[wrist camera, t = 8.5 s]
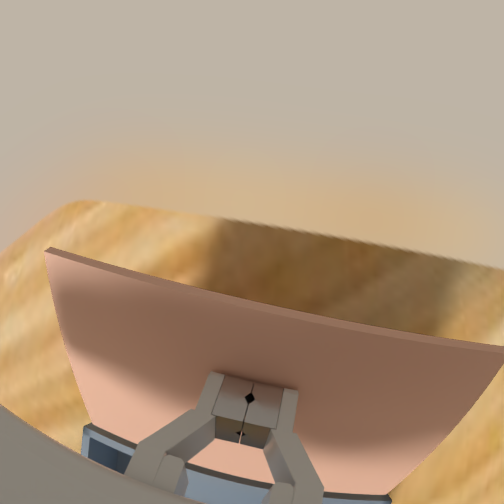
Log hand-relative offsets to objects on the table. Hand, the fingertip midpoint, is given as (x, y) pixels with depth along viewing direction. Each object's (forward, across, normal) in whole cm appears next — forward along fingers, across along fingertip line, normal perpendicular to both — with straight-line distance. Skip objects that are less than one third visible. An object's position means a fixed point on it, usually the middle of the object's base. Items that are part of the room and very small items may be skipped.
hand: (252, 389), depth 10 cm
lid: (0, 0, +2) cm, 2 cm away
